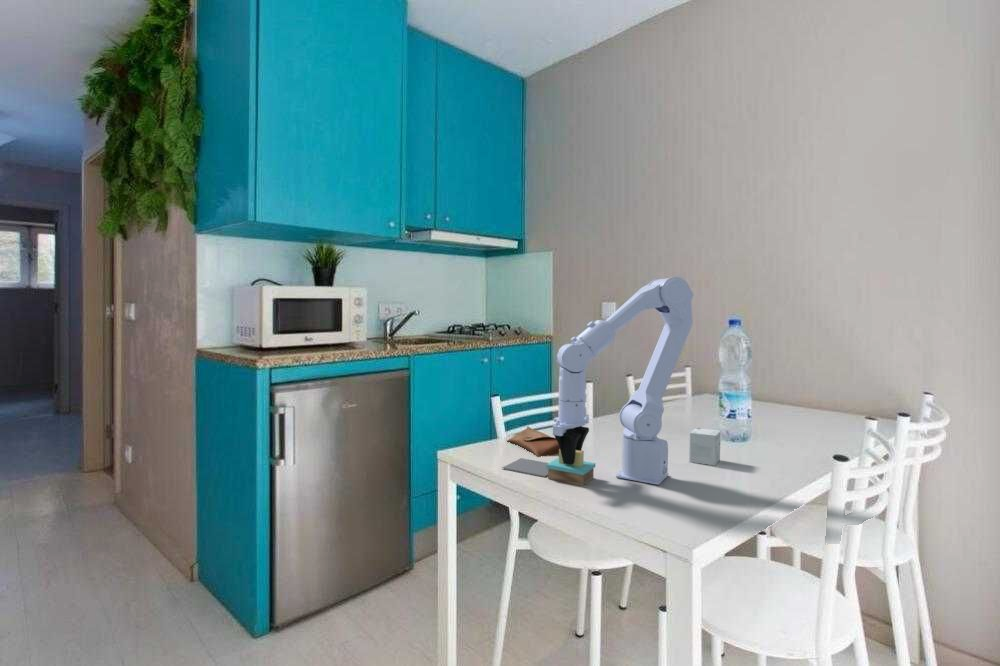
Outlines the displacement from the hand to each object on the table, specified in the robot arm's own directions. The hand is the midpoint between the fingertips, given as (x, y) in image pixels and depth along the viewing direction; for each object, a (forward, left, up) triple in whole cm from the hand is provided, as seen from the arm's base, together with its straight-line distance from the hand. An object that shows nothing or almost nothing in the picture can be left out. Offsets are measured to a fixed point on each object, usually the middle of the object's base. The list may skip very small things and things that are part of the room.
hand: (571, 461), depth 115 cm
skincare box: (-22, -30, -4) cm, 37 cm away
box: (0, 0, -4) cm, 4 cm away
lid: (0, 0, -1) cm, 1 cm away
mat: (+10, -2, -4) cm, 11 cm away
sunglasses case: (+19, -18, -4) cm, 27 cm away
